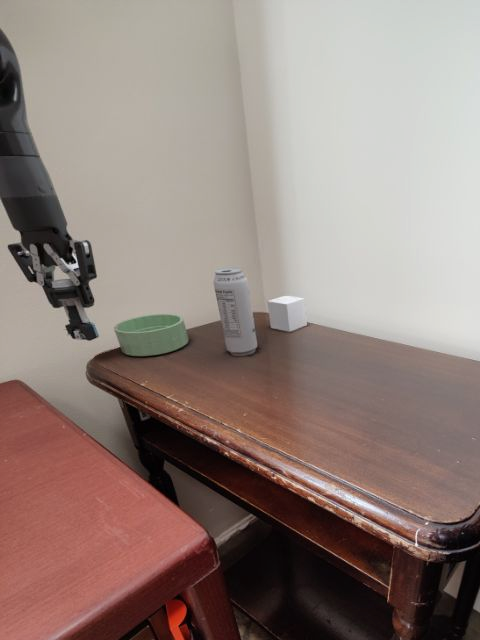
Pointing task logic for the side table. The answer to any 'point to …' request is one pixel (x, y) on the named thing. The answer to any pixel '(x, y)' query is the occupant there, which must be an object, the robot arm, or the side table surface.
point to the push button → (73, 310)
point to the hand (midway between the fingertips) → (73, 306)
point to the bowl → (151, 334)
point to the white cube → (287, 313)
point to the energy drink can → (235, 311)
